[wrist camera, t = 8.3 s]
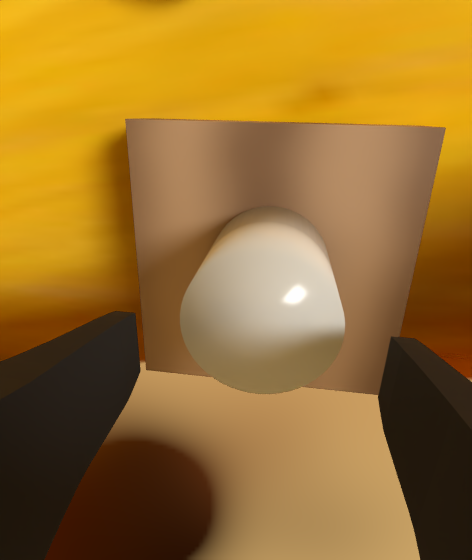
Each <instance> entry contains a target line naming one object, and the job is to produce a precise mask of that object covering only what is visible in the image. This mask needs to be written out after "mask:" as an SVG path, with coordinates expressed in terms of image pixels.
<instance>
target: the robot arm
mask: <svg viewBox="0 0 472 560" xmlns="http://www.w3.org/2000/svg"><path fill="white" fill-rule="evenodd" d="M139 373H140V360H139V349H138V338H137V327H136V316H135V313H130V312H120V311H114V312H112V313H109V314H106V315H104V316H102V317H99V318H97V319H95V320H93V321H91V322H89V323H87V324H85V325H83V326H80V327H78V328H76V329H74V330H72V331H70V332H68V333H66V334H64V335H62V336H60V337H57V338H55V339H53V340H51V341H49V342H46V343H44V344H42V345H39V346H37V347H35V348H33V349H30V350H28V351H26V352H24V353H21V354H19V355H16V356H14V357H11V358H9V359H6V360H4V361H1V362H0V560H44V559H45V556H46V555H47V552H48V550H49V548H50V545H51V543H52V541H53V539H54V537H55V534H56V532H57V530H58V528H59V525H60V523H61V521H62V519H63V517H64V514H65V512H66V510H67V508H68V506H69V504H70V502H71V500H72V498H73V496H74V493H75V491H76V489H77V487H78V485H79V483H80V481H81V479H82V477H83V476H84V474H85V472H86V470H87V468H88V466H89V464H90V463H91V461H92V460H93V458H94V456H95V455H96V453H97V452H98V450H99V448H100V447H101V445H102V443H103V442H104V440H105V438H106V437H107V435H108V433H109V432H110V430H111V428H112V427H113V425H114V424H115V422H116V420H117V418H118V417H119V415H120V413H121V412H122V410H123V408H124V407H125V405H126V403H127V401H128V399H129V397H130V395H131V393H132V390H133V388H134V386H135V383H136V381H137V378H138V376H139ZM378 400H379V407H380V412H381V419H382V424H383V430H384V434H385V437H386V440H387V444H388V447H389V450H390V453H391V456H392V459H393V463H394V466H395V469H396V472H397V476H398V479H399V482H400V485H401V488H402V491H403V494H404V497H405V501H406V504H407V507H408V510H409V513H410V517H411V521H412V524H413V528H414V532H415V536H416V541H417V546H418V550H419V555H420V560H472V382H471V381H470V380H468V379H467V378H466V377H464V376H463V375H462V374H460V373H459V372H458V371H457V370H455V369H454V368H453V367H451V366H450V365H449V364H448V363H446V362H445V361H444V360H443V359H441V358H440V357H439V356H438V355H436V354H435V353H434V352H433V351H431V350H430V349H429V348H427V347H426V346H425V345H423V344H422V343H421V342H419V341H418V340H416V339H414V338H403V337H392V336H391V339H390V343H389V348H388V353H387V357H386V362H385V367H384V372H383V376H382V381H381V386H380V390H379V395H378Z"/></svg>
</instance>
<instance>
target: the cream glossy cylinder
mask: <svg viewBox="0 0 472 560" xmlns="http://www.w3.org/2000/svg"><path fill="white" fill-rule="evenodd" d="M180 327H181V333H182V336H183V340H184V342H185V345H186V347H187V349H188V351H189V353H190V354H191V356H192V357H193V359H194V360H195V361H196V362H197V364H198V365H199V366H200V367H201V368H202V369H203V370H204V371H205V372H206V373H208V374H209V375H210V376H212V377H213V378H214V379H216V380H218V381H219V382H221V383H223V384H225V385H227V386H229V387H232V388H235V389H238V390H241V391H245V392H250V393H258V394H275V393H283V392H288V391H291V390H294V389H298V388H300V387H302V386H305V385H307V384H309V383H310V382H312V381H314V380H315V379H317V378H318V377H319V376H320V375H322V374H323V373H324V372H325V371H326V370H327V369H328V368H329V367H330V365H331V364H332V363H333V361H334V360H335V359H336V357H337V355H338V353H339V351H340V349H341V346H342V343H343V339H344V334H345V317H344V311H343V307H342V304H341V300H340V297H339V293H338V289H337V286H336V282H335V278H334V275H333V271H332V267H331V264H330V260H329V256H328V253H327V249H326V245H325V243H324V240H323V238H322V236H321V235H320V233H319V231H318V230H317V229H316V228H315V226H314V225H313V224H312V223H311V222H310V221H309V220H307V219H306V218H305V217H303V216H302V215H300V214H298V213H296V212H294V211H292V210H289V209H286V208H281V207H273V206H266V207H258V208H253V209H250V210H247V211H245V212H243V213H241V214H239V215H237V216H236V217H234V218H233V219H232V220H231V221H230V222H228V223H227V225H226V226H225V227H224V228H223V229H222V231H221V232H220V234H219V235H218V237H217V239H216V240H215V242H214V244H213V246H212V247H211V249H210V251H209V252H208V254H207V256H206V257H205V259H204V261H203V263H202V264H201V266H200V268H199V269H198V271H197V273H196V274H195V276H194V278H193V280H192V281H191V283H190V285H189V286H188V288H187V290H186V292H185V295H184V297H183V300H182V304H181V310H180Z"/></svg>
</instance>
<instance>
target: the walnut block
mask: <svg viewBox="0 0 472 560" xmlns="http://www.w3.org/2000/svg"><path fill="white" fill-rule="evenodd" d="M125 121H126V133H127V145H128V157H129V169H130V181H131V193H132V205H133V217H134V229H135V241H136V253H137V265H138V277H139V289H140V301H141V313H142V325H143V337H144V349H145V361H146V370H152V371H161V372H170V373H180V374H189V375H199V376H207V377H212V376H210V375H209V374H208V373H206V372H205V371H204V370H203V369H202V368H201V367H200V366H199V365H198V364H197V362H196V361H195V360H194V359H193V357H192V356H191V354H190V353H189V351H188V349H187V347H186V345H185V342H184V340H183V336H182V333H181V327H180V310H181V304H182V300H183V297H184V295H185V292H186V290H187V288H188V286H189V285H190V283H191V281H192V280H193V278H194V276H195V274H196V273H197V271H198V269H199V268H200V266H201V264H202V263H203V261H204V259H205V257H206V256H207V254H208V252H209V251H210V249H211V247H212V246H213V244H214V242H215V240H216V239H217V237H218V235H219V234H220V232H221V231H222V229H223V228H224V227H225V226H226V225H227V223H228V222H230V221H231V220H232V219H233V218H234V217H236V216H237V215H239V214H241V213H243V212H245V211H247V210H250V209H253V208H258V207H266V206H273V207H281V208H286V209H289V210H292V211H294V212H296V213H298V214H300V215H302V216H303V217H305V218H306V219H307V220H309V221H310V222H311V223H312V224H313V225H314V226H315V228H316V229H317V230H318V231H319V233H320V235H321V236H322V238H323V240H324V243H325V245H326V249H327V253H328V256H329V260H330V264H331V267H332V271H333V275H334V278H335V282H336V286H337V289H338V293H339V297H340V300H341V304H342V307H343V311H344V317H345V334H344V339H343V343H342V346H341V349H340V351H339V353H338V355H337V357H336V359H335V360H334V361H333V363H332V364H331V365H330V367H329V368H328V369H327V370H326V371H325V372H324V373H323V374H322V375H320V376H319V377H318V378H317V379H315V380H314V381H312V382H310V383H309V384H307V385H305V386H302V387H309V388H318V389H328V390H338V391H346V392H356V393H365V394H374V395H379V390H380V386H381V381H382V376H383V372H384V367H385V362H386V357H387V353H388V348H389V343H390V339H391V336H392V337H399V336H400V332H401V327H402V323H403V318H404V314H405V309H406V305H407V300H408V296H409V291H410V287H411V282H412V278H413V273H414V269H415V264H416V260H417V255H418V251H419V246H420V242H421V237H422V233H423V228H424V224H425V219H426V215H427V210H428V206H429V201H430V197H431V192H432V188H433V183H434V179H435V174H436V170H437V165H438V161H439V156H440V152H441V147H442V143H443V138H444V134H445V129H446V128H442V127H429V126H406V125H369V124H333V123H296V122H259V121H222V120H186V119H125Z"/></svg>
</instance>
